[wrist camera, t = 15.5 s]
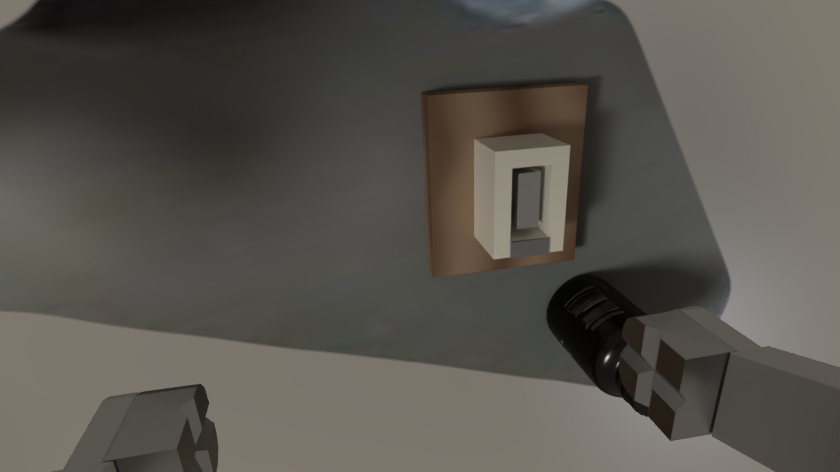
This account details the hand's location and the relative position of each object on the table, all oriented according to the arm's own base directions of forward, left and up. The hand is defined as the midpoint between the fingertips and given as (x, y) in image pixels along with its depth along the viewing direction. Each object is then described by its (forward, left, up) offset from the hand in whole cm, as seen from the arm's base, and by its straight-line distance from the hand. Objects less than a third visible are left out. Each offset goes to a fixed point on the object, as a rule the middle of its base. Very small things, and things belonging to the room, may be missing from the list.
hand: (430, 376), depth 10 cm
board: (+12, -5, -29) cm, 32 cm away
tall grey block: (+12, -5, -27) cm, 30 cm away
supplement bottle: (+20, -18, -29) cm, 40 cm away
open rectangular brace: (+12, -5, -27) cm, 30 cm away
